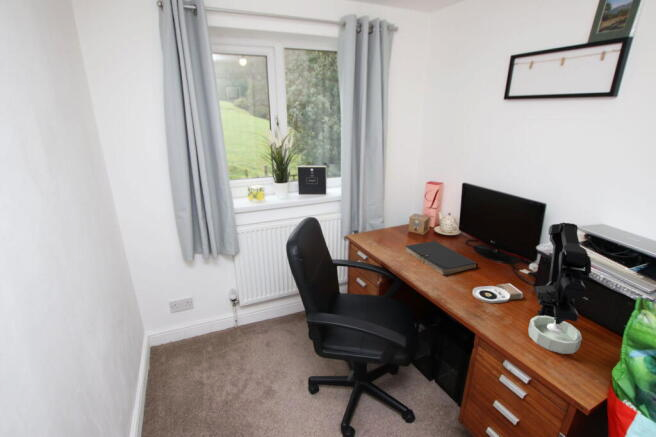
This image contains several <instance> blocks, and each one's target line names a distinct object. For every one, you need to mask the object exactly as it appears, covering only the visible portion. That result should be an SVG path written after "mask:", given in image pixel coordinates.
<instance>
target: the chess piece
mask: <svg viewBox="0 0 656 437" xmlns="http://www.w3.org/2000/svg"><path fill="white" fill-rule="evenodd" d="M547 328H548V329H549V330H550V331H552V332H554V333H558V334H561V333H563V328H562V327H561V326H559V324H556V323H555V322H554V323H553V324H552V323H550V324H548V325H547Z"/></svg>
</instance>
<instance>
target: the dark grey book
mask: <svg viewBox="0 0 656 437" xmlns="http://www.w3.org/2000/svg"><path fill="white" fill-rule="evenodd" d="M404 249H405V250H404V251H405V252H406V253H407V254H409V255H411V256H412V257H413V258H415V259H416V260H419V261H421V262H422V263H423V264H425V265H426V266H429V267H430V268H432V269H433V270H435V271H436V272H437V273H438V274H441V276H446V275H451V274H454V273H458V272H462V271H467V270H470V269H475V268H478V266H479V263H478V262H476V261H474V260H472V259H470V258H468V257H467V256H464V255H462V254H461V253H459V252H457V251H455V250H453V249H451V248H449V247H447V246H445V245H444V244H441V243H440V242H438V241H436V240H433V241H431V240H430V241H427V242H426V241H425V242H420V243H414V244H411V245H410V244H409V245H405V246H404Z"/></svg>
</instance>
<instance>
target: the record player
mask: <svg viewBox="0 0 656 437" xmlns="http://www.w3.org/2000/svg"><path fill="white" fill-rule="evenodd" d="M472 295H473V297H474V298H476V299H477V300H479V301H482V302H485V303H489V304H495V303H497V304H498V303H505V302H508V301H511V300H520V299H523V297H524V296H523V295H524V293H523V292H522V291H521V290H520V289H518V288H517V287H515V286H514V285H512V284H511V283H501V284H496V286H494V285H486V286H485V285H484V286H476V287H474V288H473V289H472Z"/></svg>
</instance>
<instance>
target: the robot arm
mask: <svg viewBox="0 0 656 437" xmlns="http://www.w3.org/2000/svg"><path fill="white" fill-rule="evenodd" d="M578 229H579V228H578V225H577V224H575V223H571V222H560V223H554V224H551V225H550V226H549V228H548V235H549V241H550V243H551V245H552V246H553V247H552V255H551V262H550V273H549V279H548V281H547V283H546V284H545V285H539V286H538V285H537V286H534V290H535V293H536V294H535V295H536V298H537V299H536V300H537V301H538V306H539V305H540V310H539V309H537V316H549V317H554V319H555V323H556V324H560V323H562V322H563V321H565V320H568V321H570V322H575V323H576V322H578V320H579V317H580V315H579V313H578V311H577V310H576V308H574V307H573V306H575V305H576V302H575V300H581V299H584V297H586V296H587V295H588V294H587V293H588V292H587V288H586V286H585V284H584V282H583V277H584V278H589V277H590V274H591V273H592V260H591V256H590V255H589V254H588V251H587V249H586V248H584V247H583V246H581V245H580V240H579V236H578V231H579V230H578Z"/></svg>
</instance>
